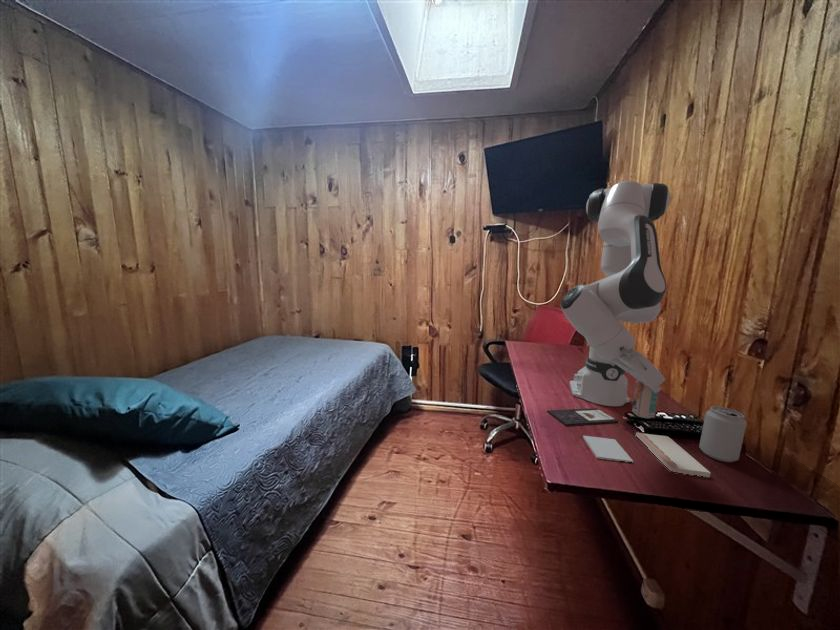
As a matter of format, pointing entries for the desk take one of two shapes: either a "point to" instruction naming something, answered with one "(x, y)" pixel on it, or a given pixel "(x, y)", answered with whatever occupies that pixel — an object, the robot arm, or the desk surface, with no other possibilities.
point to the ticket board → (672, 455)
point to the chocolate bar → (581, 417)
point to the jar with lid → (644, 401)
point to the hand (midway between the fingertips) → (649, 385)
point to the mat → (607, 449)
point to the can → (722, 434)
